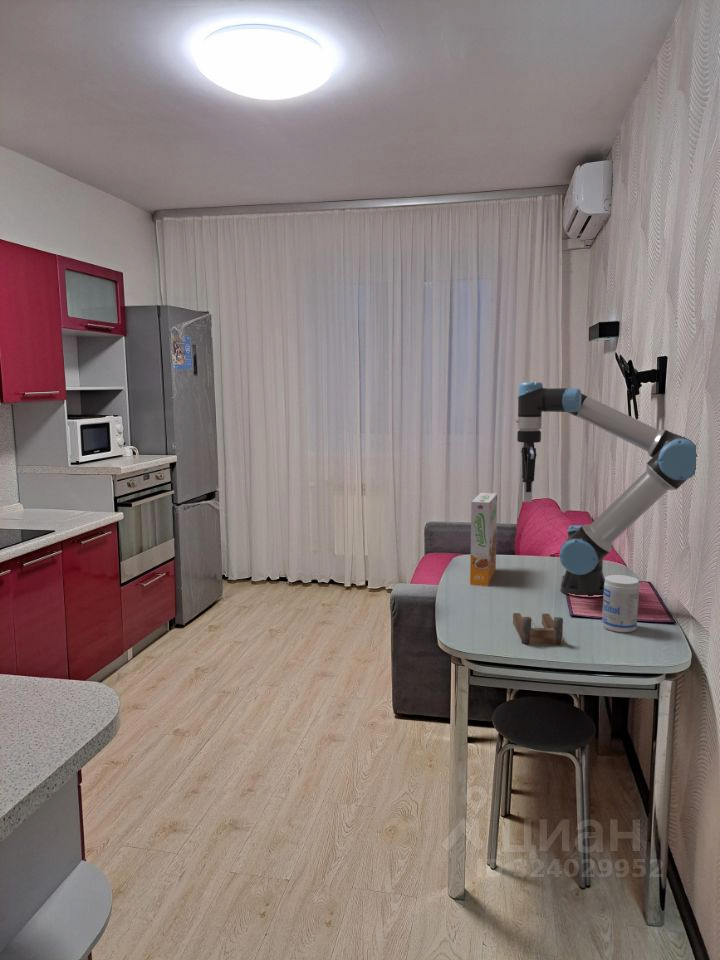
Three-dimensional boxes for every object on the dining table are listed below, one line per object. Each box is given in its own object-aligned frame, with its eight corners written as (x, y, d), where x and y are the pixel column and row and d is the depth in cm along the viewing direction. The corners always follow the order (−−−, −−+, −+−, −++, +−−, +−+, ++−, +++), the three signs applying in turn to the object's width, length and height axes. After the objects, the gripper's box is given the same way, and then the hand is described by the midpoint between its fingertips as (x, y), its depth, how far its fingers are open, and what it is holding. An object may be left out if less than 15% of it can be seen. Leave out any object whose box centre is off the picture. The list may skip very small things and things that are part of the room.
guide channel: (549, 623, 207) (549, 600, 206) (563, 645, 189) (563, 620, 188) (512, 622, 207) (512, 600, 207) (522, 644, 190) (523, 619, 189)
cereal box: (487, 586, 247) (489, 502, 243) (470, 584, 248) (471, 501, 245) (495, 570, 268) (497, 493, 264) (479, 569, 270) (480, 492, 266)
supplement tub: (595, 627, 203) (597, 578, 201) (611, 620, 210) (613, 572, 208) (627, 636, 196) (630, 585, 194) (642, 628, 202) (645, 578, 201)
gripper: (514, 428, 233) (512, 498, 236) (521, 431, 220) (519, 504, 223) (536, 428, 233) (535, 498, 236) (545, 431, 220) (543, 504, 223)
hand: (527, 501), depth 229 cm, fingers closed
